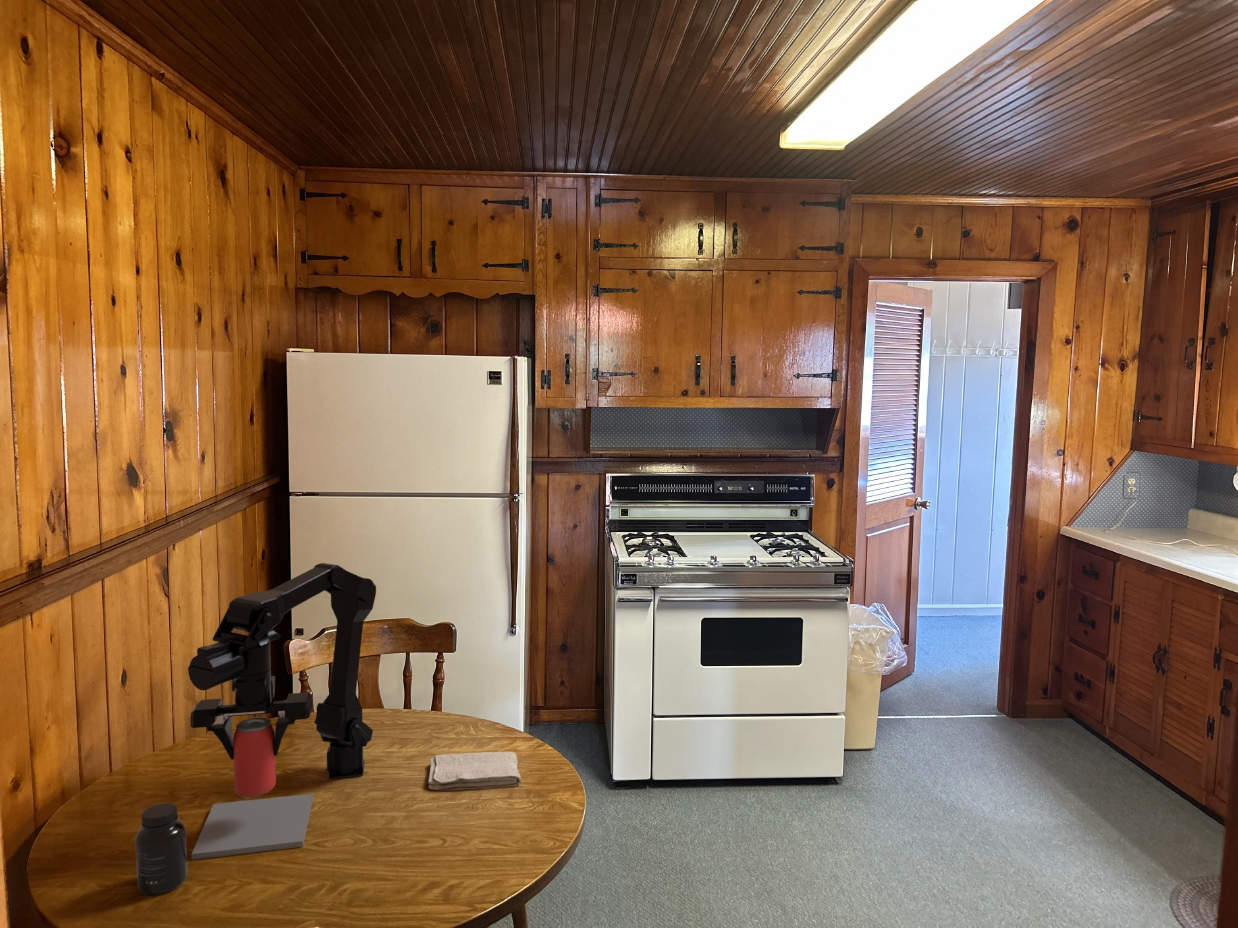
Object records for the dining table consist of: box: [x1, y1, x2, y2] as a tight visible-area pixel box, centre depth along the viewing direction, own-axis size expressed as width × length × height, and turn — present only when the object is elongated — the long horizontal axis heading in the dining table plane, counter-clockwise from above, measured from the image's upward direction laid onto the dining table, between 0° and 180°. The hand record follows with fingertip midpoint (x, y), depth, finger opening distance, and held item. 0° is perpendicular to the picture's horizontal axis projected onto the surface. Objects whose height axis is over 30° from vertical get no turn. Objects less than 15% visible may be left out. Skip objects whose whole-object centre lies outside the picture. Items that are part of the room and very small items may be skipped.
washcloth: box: [428, 751, 522, 791], centre depth 162 cm, size 12×18×3 cm, turn 101°
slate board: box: [191, 793, 314, 861], centre depth 141 cm, size 17×16×1 cm
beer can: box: [233, 716, 277, 798], centre depth 140 cm, size 7×7×12 cm
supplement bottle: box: [134, 802, 188, 896], centre depth 124 cm, size 7×7×12 cm
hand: (254, 756), depth 140 cm, fingers closed on beer can, 7 cm apart
